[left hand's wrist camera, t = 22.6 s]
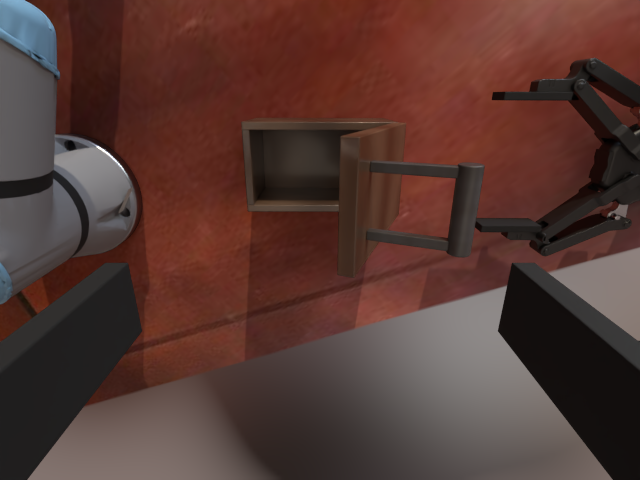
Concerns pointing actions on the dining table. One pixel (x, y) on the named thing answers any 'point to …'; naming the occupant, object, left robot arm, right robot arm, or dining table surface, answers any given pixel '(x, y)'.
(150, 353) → the dining table surface
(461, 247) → the lid
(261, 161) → the chest
